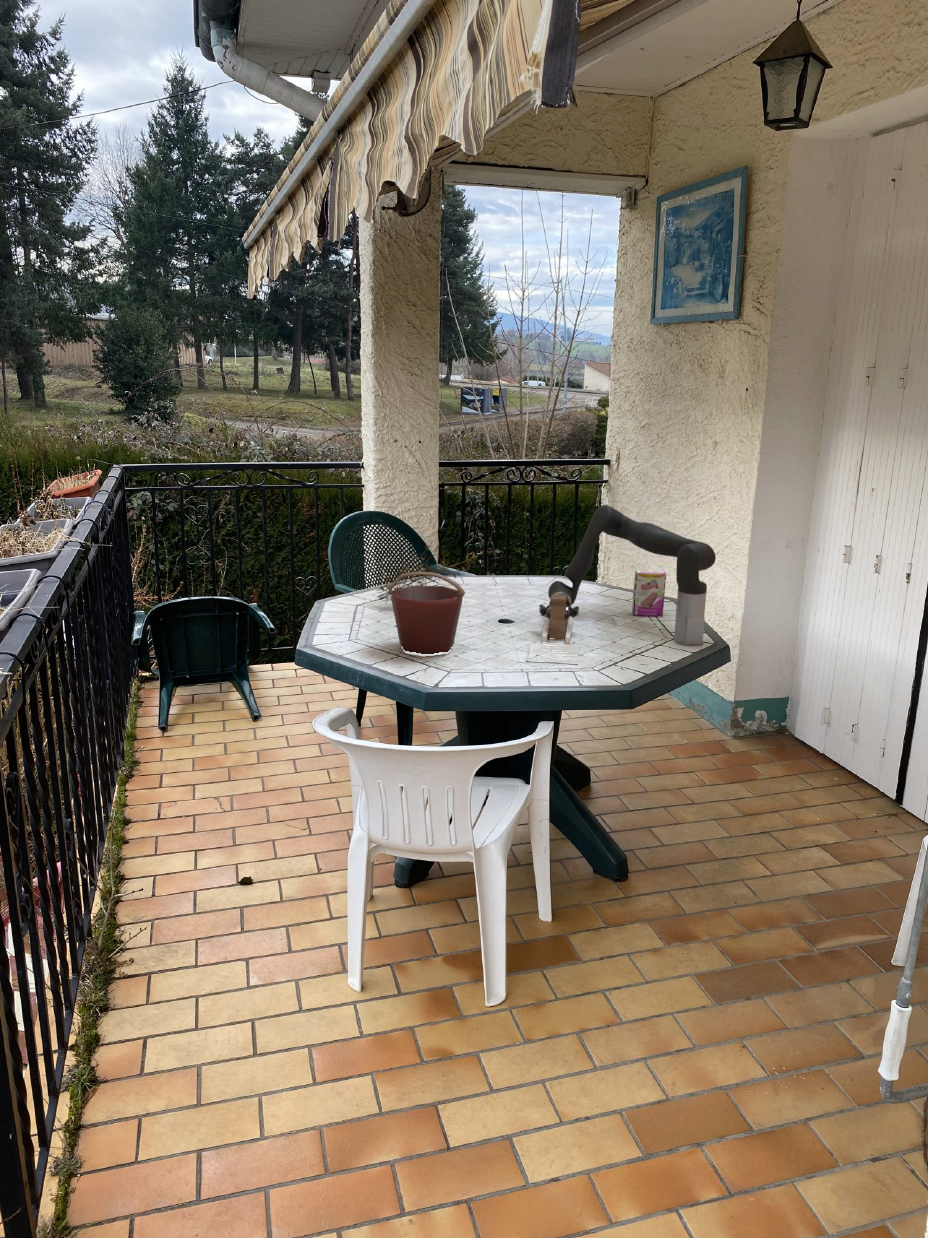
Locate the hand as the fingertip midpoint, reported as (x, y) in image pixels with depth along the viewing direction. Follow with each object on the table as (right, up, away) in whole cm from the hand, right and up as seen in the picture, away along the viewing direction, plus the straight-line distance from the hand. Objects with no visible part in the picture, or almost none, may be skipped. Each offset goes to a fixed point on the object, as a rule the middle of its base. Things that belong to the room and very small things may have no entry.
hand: (557, 616), depth 299 cm
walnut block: (0, -7, +5) cm, 8 cm away
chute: (+1, -6, +8) cm, 10 cm away
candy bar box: (+37, 0, +35) cm, 51 cm away
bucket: (-43, -11, -10) cm, 46 cm away
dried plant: (-44, +3, +39) cm, 59 cm away
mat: (-3, -12, -14) cm, 18 cm away
